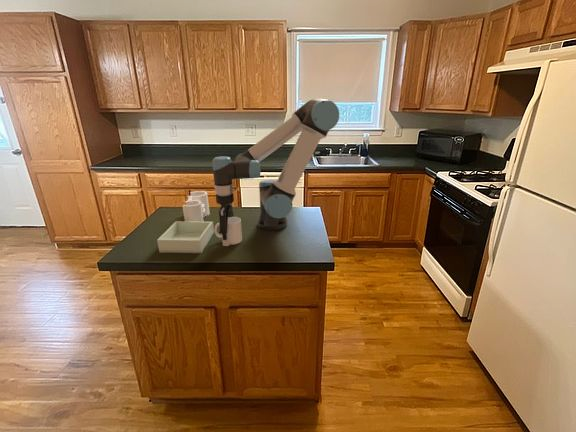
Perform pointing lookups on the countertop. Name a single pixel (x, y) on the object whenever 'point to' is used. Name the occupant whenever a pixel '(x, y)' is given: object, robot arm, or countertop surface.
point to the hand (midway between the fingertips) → (228, 240)
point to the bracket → (196, 206)
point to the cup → (232, 230)
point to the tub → (186, 237)
